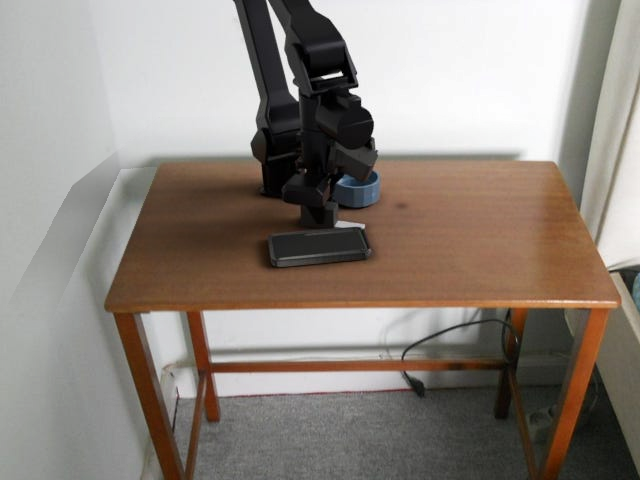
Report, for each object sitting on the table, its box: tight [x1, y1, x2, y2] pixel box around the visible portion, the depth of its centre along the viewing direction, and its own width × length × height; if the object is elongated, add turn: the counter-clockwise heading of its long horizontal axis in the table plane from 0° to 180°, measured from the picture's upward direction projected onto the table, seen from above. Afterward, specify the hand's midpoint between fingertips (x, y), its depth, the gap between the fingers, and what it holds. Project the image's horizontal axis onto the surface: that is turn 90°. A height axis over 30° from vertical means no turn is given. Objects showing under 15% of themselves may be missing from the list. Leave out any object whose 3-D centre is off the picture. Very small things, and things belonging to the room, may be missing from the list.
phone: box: [267, 227, 372, 268], centre depth 102 cm, size 8×1×15 cm
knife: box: [299, 201, 366, 230], centre depth 107 cm, size 10×3×4 cm, turn 75°
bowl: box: [332, 168, 382, 209], centre depth 114 cm, size 8×8×4 cm
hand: (322, 219), depth 108 cm, fingers closed on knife, 3 cm apart
